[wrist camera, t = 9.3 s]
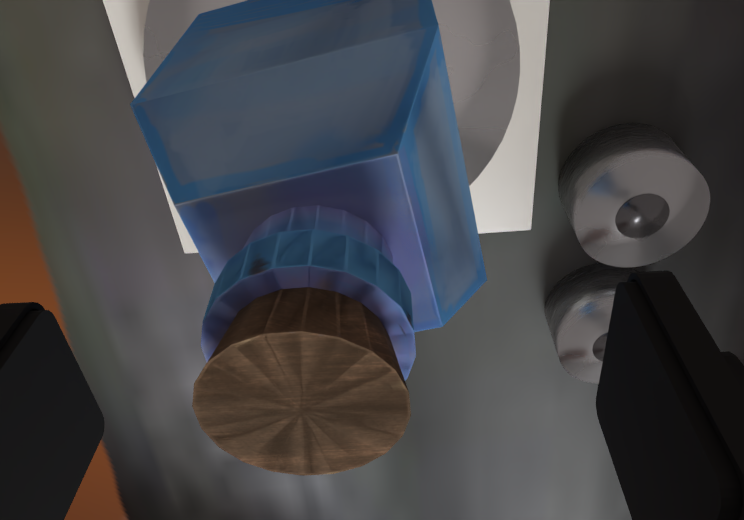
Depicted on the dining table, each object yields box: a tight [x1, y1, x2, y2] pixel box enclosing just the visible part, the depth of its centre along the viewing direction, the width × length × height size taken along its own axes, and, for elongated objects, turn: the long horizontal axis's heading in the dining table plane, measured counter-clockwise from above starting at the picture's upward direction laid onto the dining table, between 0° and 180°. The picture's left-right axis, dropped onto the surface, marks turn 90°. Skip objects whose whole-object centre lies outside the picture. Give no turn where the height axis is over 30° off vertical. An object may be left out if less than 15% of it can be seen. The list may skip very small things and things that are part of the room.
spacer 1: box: [558, 123, 710, 267], centre depth 25 cm, size 5×5×3 cm
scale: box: [103, 0, 550, 253], centre depth 21 cm, size 13×14×4 cm
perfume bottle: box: [130, 0, 487, 475], centre depth 14 cm, size 6×6×12 cm
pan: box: [143, 0, 520, 186], centre depth 19 cm, size 11×11×1 cm
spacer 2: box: [545, 263, 638, 384], centre depth 30 cm, size 5×5×3 cm
